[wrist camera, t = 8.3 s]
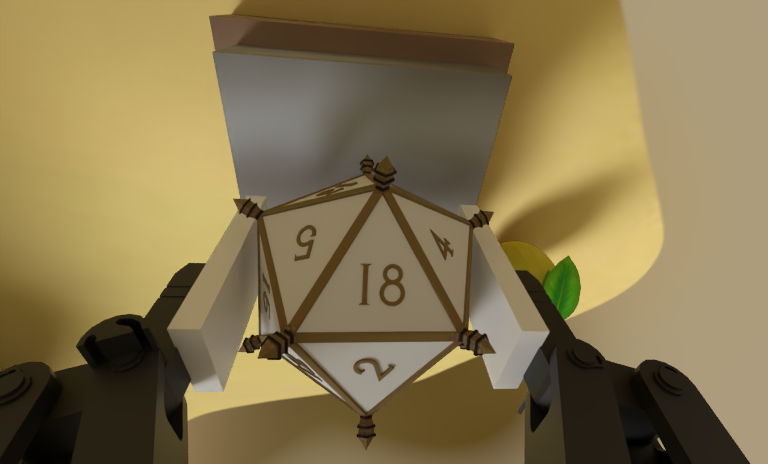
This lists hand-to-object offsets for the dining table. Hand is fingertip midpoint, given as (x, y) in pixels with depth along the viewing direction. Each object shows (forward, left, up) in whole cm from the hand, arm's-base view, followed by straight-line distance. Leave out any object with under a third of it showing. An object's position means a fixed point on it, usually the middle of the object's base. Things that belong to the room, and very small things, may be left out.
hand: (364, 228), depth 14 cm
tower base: (0, 0, -9) cm, 9 cm away
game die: (0, 0, -1) cm, 1 cm away
